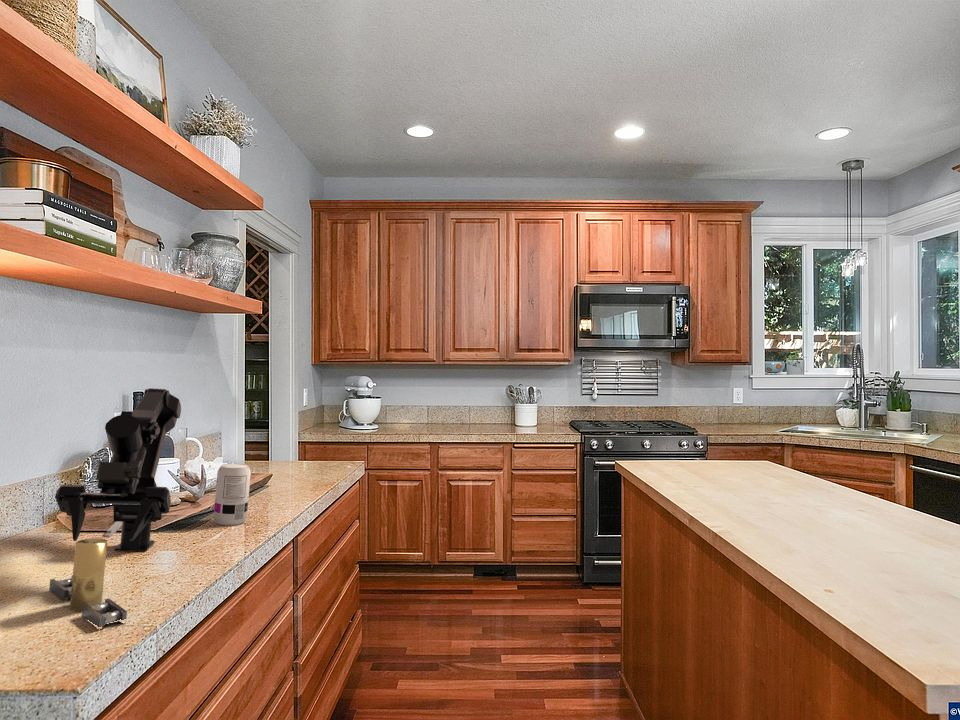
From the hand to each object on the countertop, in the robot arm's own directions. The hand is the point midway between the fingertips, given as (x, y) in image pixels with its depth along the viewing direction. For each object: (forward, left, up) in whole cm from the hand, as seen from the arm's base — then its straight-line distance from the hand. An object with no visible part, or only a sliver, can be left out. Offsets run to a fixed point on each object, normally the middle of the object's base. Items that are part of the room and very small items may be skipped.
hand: (103, 540), depth 111 cm
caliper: (-44, -10, -10) cm, 46 cm away
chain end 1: (+1, -4, -9) cm, 10 cm away
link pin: (+7, +1, -9) cm, 12 cm away
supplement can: (-49, +14, -10) cm, 52 cm away
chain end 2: (+13, +5, -9) cm, 17 cm away
